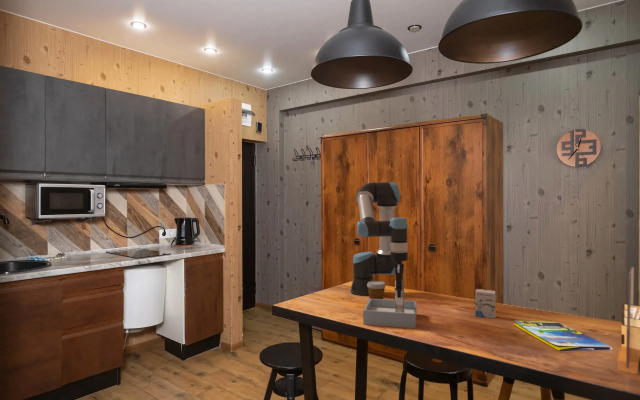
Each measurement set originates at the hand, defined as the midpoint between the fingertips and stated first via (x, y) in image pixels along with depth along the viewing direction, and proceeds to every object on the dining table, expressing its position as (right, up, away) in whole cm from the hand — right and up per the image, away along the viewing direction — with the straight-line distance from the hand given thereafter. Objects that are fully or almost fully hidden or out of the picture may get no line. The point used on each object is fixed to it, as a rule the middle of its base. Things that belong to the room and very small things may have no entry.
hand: (399, 302), depth 172 cm
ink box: (+40, -7, +3) cm, 41 cm away
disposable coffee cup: (-7, -8, +22) cm, 24 cm away
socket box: (-4, -8, +1) cm, 9 cm away
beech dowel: (0, -4, 0) cm, 4 cm away
